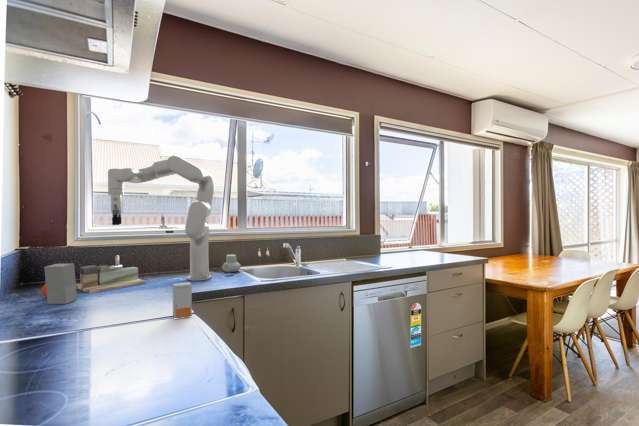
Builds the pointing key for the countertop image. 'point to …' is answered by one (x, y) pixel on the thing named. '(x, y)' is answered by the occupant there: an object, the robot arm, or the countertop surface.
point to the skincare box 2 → (182, 300)
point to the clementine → (44, 290)
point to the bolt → (116, 264)
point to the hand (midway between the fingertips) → (116, 224)
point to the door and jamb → (107, 278)
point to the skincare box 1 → (60, 283)
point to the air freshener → (231, 264)
